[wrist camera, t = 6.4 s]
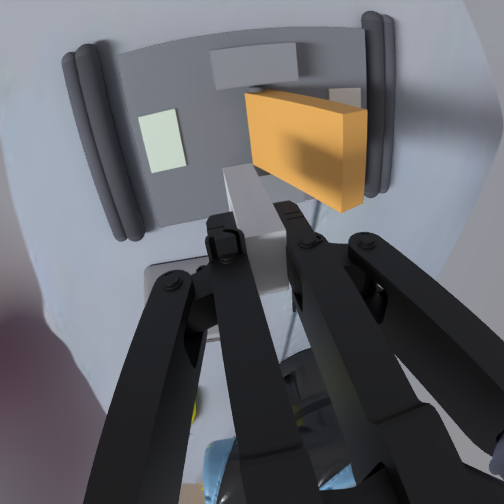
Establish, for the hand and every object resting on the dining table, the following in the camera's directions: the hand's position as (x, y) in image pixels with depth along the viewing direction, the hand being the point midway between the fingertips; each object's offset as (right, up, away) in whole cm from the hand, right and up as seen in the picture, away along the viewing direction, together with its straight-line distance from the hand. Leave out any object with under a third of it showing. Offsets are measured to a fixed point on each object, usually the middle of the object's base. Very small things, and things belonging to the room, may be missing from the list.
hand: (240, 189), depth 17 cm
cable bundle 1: (-12, +6, +10) cm, 17 cm away
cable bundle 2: (+12, +11, +12) cm, 20 cm away
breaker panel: (0, +9, +11) cm, 14 cm away
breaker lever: (+1, +7, +8) cm, 10 cm away
